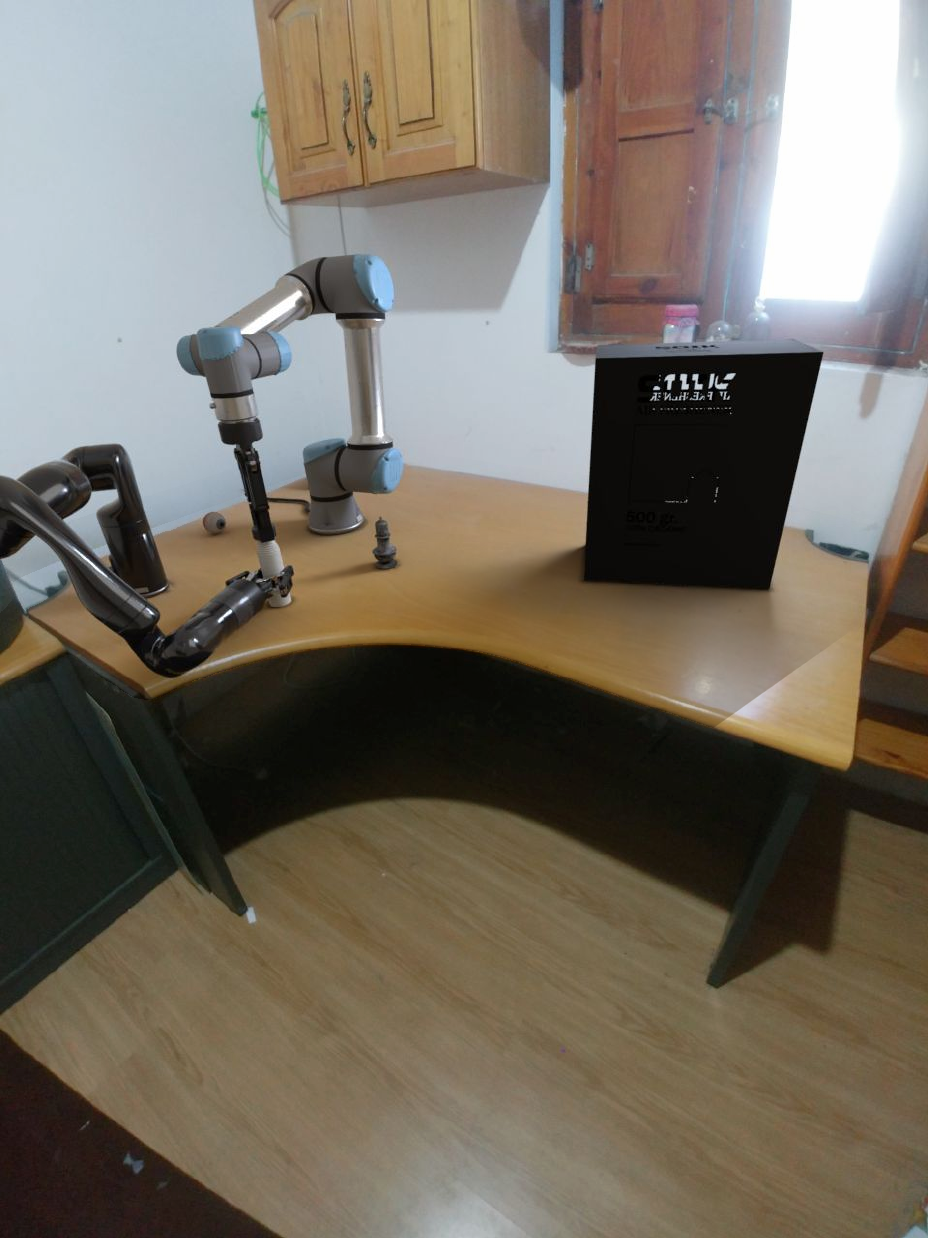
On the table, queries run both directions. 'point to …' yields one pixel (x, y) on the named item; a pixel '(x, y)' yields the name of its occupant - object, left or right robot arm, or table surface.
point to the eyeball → (214, 522)
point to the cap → (256, 535)
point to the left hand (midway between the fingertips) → (280, 568)
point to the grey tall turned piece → (384, 546)
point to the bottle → (272, 568)
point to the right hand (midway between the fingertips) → (265, 536)
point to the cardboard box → (695, 460)
